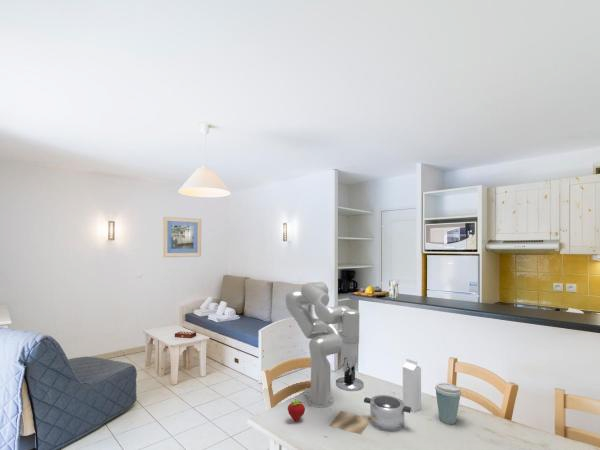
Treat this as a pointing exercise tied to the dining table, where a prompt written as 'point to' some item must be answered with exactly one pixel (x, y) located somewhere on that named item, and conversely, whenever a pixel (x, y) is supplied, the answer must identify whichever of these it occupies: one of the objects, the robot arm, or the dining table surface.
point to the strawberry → (296, 410)
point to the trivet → (350, 422)
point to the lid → (355, 385)
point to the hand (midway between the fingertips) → (349, 381)
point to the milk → (412, 385)
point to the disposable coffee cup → (447, 401)
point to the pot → (387, 412)
